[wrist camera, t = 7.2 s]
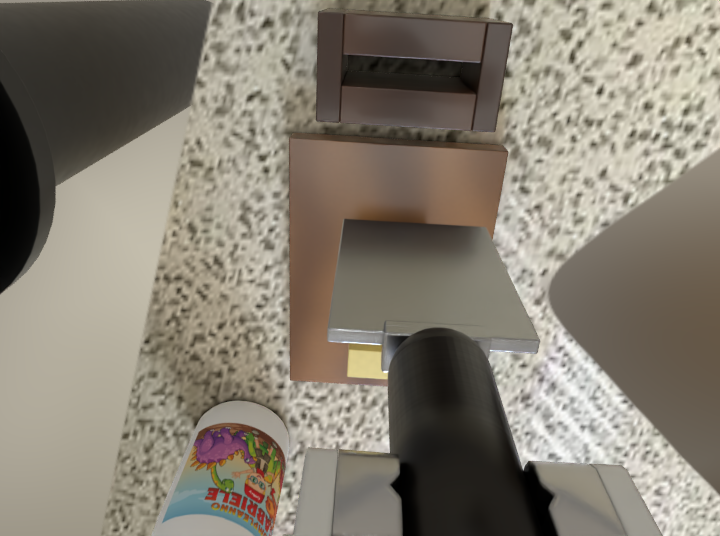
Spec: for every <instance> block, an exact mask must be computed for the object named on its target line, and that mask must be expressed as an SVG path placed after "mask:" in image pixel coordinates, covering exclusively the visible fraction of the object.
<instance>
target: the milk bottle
mask: <svg viewBox="0 0 720 536" xmlns="http://www.w3.org/2000/svg"><path fill="white" fill-rule="evenodd" d="M289 444H290V441H289V435H288V432H287V429H286V427H285V425H284V423H283V421H282V420H281V419H280V418H279V417H278V416H277V415H276V414H275V413H274V412H272V411H271V410H269V409H268V408H266V407H264V406H262V405H259V404H257V403H253V402H248V401H228V402H225V403H221V404H219V405H217V406H214V407H213V408H211V409H210V410H209V411H207V412H206V413H205V414H204V415H203V416H202V417H201V418H200V420H199V422H198V424H197V426H196V428H195V430H194V432H193V435H192V437H191V439H190V442H189V444H188V446H187V449H186V451H185V454H184V456H183V458H182V461H181V463H180V466H179V468H178V470H177V473H176V475H175V477H174V480H173V482H172V485H171V487H170V490H169V492H168V494H167V497H166V499H165V502H164V504H163V507H162V509H161V512H160V514H159V516H158V519H157V521H156V524H155V527H154V530H153V532H152V535H151V536H272V533H273V528H274V523H275V518H276V514H277V509H278V504H279V498H280V493H281V488H282V483H283V478H284V473H285V468H286V463H287V457H288V452H289Z"/></svg>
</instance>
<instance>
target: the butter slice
mask: <svg viewBox="0 0 720 536" xmlns="http://www.w3.org/2000/svg"><path fill="white" fill-rule="evenodd" d="M381 350H382V345H375V344H357V343H349V350H348V368H347V377H358V378H374V379H388V372H382V370H381Z"/></svg>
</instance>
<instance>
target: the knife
mask: <svg viewBox="0 0 720 536" xmlns="http://www.w3.org/2000/svg"><path fill="white" fill-rule="evenodd" d="M327 341H328V342H339V343H357V344H375V345H382V350H381V370H382V372H388V408H389V439H390V453H391V454H398V455H399V466H400V477H399V487H398V495H399V496H400V497H401V504H402V529H403V536H543V533H542V530H541V527H540V523H539V520H538V517H537V514H536V511H535V507H534V504H533V501H532V498H531V495H530V491H529V488H528V485H527V482H526V478H525V475H524V472H523V469H522V466H521V462H520V459H519V456H518V453H517V449H516V446H515V443H514V440H513V437H512V433H511V430H510V427H509V424H508V421H507V417H506V414H505V411H504V408H503V404H502V401H501V398H500V395H499V392H498V388H497V385H496V382H495V379H494V375H493V372H492V369H491V366H490V363H489V361H488V357H489V352H490V351H499V352H516V353H534V354H536V353H537V352H538V348H539V344H540V339H539V337H538V335H537V333H536V331H535V329H534V327H533V325H532V322H531V320H530V318H529V316H528V314H527V312H526V310H525V308H524V306H523V304H522V302H521V299H520V297H519V295H518V293H517V291H516V289H515V287H514V285H513V283H512V281H511V278H510V276H509V274H508V272H507V270H506V268H505V266H504V264H503V262H502V260H501V258H500V255H499V253H498V251H497V249H496V247H495V245H494V243H493V241H492V239H491V237H490V234H489V232H488V230H487V228H486V227H479V226H462V225H444V224H426V223H409V222H391V221H373V220H356V219H343V224H342V231H341V238H340V245H339V252H338V258H337V265H336V272H335V279H334V286H333V293H332V300H331V307H330V314H329V321H328V328H327Z"/></svg>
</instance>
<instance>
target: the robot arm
mask: <svg viewBox="0 0 720 536" xmlns="http://www.w3.org/2000/svg"><path fill="white" fill-rule="evenodd" d="M523 472H524V475H525V478H526V482H527V485H528V488H529V491H530V495H531V498H532V501H533V504H534V507H535V511H536V514H537V517H538V520H539V523H540V527H541V530H542V533H543V536H663V535H662V534H661V532H660V530H659V528H658V526H657V524H656V523H655V521H654V519H653V517H652V515H651V513H650V511H649V510H648V508H647V506H646V504H645V502H644V500H643V498H642V497H641V495H640V493H639V491H638V489H637V487H636V486H635V484H634V482H633V480H632V478H631V476H630V474H629V473H628V471H627V470H626V469H625V468H624V467H623V466H622V465H606V464H586V463H564V462H542V461H528V463H527V464H526V465H525V467H524V471H523ZM399 477H400V466H399V455H398V454H391V453H379V452H366V451H354V450H342V449H339V455H338V450H334V449H322V448H310V447H308V449H307V452H306V455H305V461H304V467H303V474H302V480H301V487H300V494H299V500H298V507H297V513H296V520H295V526H294V533H293V535H283V536H403V529H402V504H401V497H400V496H399V495H398V487H399Z"/></svg>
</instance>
